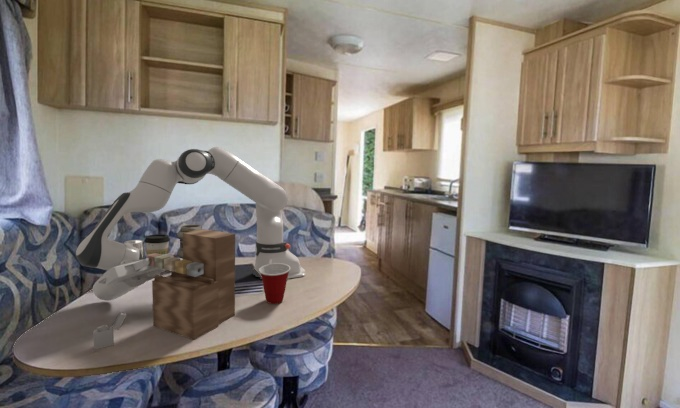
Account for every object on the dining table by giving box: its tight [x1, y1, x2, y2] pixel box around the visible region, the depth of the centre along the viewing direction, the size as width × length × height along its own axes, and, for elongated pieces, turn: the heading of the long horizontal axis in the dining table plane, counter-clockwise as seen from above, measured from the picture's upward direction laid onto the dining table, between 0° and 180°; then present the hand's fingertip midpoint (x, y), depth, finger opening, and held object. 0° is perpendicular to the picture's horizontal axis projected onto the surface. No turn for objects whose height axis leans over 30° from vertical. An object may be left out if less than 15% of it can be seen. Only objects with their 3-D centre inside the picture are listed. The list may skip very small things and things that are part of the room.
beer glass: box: [123, 239, 145, 259], centre depth 139 cm, size 7×7×15 cm
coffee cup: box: [143, 233, 171, 273], centre depth 150 cm, size 10×10×15 cm
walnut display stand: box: [151, 228, 236, 341], centre depth 104 cm, size 16×17×26 cm
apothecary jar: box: [176, 223, 202, 260], centre depth 161 cm, size 12×12×18 cm
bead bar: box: [145, 253, 204, 277], centre depth 101 cm, size 20×3×3 cm, turn 65°
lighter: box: [93, 311, 127, 350], centre depth 91 cm, size 7×2×8 cm, turn 126°
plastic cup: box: [259, 263, 290, 305], centre depth 123 cm, size 11×11×12 cm
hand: (156, 258), depth 104 cm, fingers closed on bead bar, 3 cm apart
